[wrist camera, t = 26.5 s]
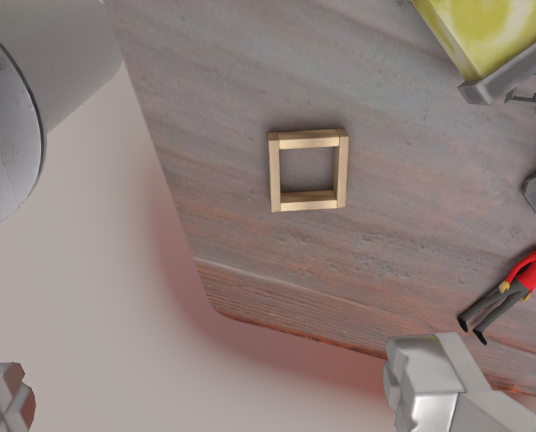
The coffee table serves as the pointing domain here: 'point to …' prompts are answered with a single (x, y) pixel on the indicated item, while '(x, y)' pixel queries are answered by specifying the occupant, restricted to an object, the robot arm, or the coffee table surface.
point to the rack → (309, 198)
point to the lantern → (487, 49)
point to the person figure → (504, 295)
